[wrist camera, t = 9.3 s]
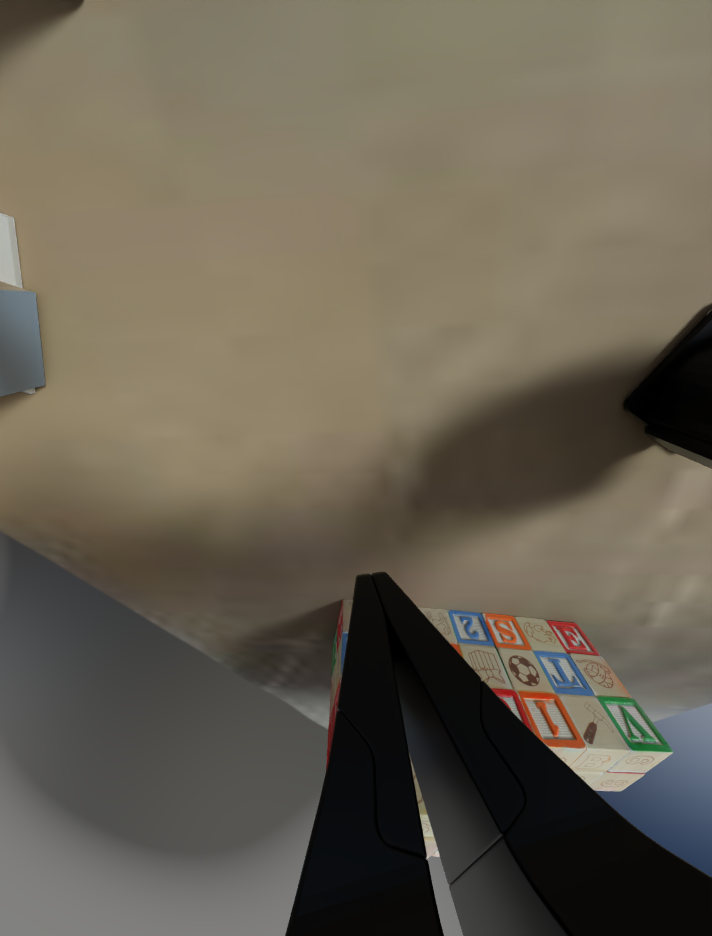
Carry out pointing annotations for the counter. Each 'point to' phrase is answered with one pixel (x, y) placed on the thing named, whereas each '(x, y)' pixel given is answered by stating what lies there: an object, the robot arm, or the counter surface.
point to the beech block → (19, 341)
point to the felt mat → (10, 258)
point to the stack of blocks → (542, 694)
